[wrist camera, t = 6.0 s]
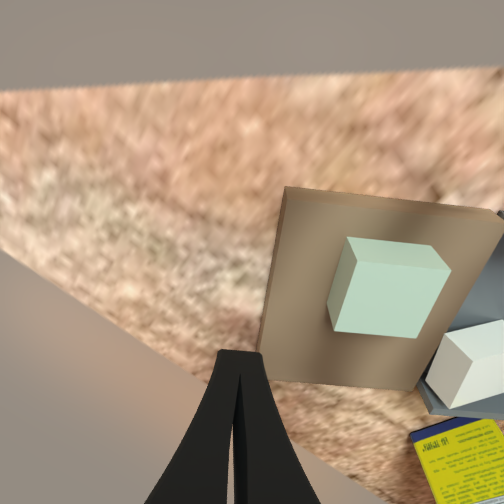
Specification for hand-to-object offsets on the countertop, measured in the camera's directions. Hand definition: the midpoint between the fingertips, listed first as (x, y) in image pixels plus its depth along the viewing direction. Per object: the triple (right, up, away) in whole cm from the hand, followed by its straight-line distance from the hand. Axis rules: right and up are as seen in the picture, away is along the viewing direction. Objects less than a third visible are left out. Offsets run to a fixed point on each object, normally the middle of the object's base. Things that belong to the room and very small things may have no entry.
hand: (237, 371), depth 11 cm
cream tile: (+13, -2, +9) cm, 16 cm away
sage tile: (+7, +3, +6) cm, 9 cm away
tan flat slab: (+6, +1, +8) cm, 11 cm away
